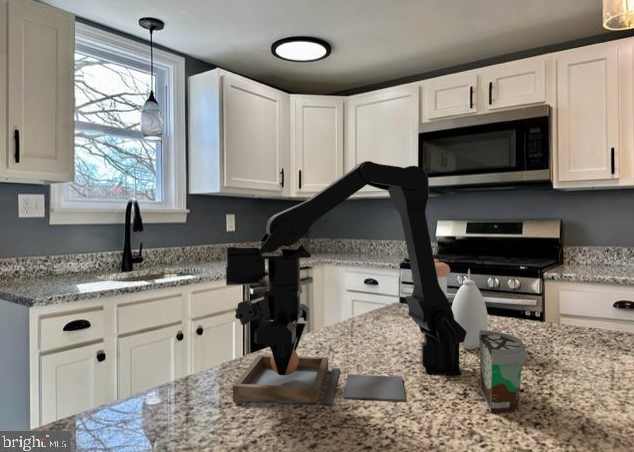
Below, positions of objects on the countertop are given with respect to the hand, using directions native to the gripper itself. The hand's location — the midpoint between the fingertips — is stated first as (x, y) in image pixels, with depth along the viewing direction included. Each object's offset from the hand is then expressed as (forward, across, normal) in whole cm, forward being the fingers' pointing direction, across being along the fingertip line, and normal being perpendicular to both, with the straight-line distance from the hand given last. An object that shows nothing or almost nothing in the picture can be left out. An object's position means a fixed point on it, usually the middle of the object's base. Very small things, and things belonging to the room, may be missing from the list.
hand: (285, 369), depth 78 cm
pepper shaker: (+3, -35, +31) cm, 47 cm away
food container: (+3, +3, +37) cm, 37 cm away
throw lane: (+3, 0, +7) cm, 7 cm away
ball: (-2, 0, 0) cm, 2 cm away
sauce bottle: (+3, -25, +37) cm, 45 cm away
